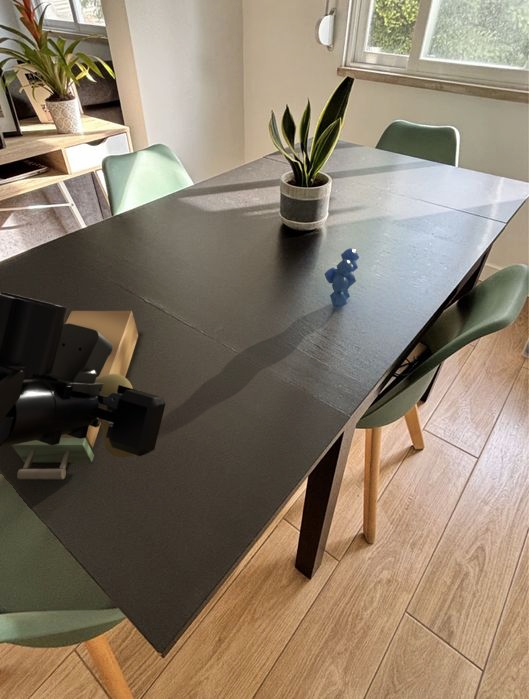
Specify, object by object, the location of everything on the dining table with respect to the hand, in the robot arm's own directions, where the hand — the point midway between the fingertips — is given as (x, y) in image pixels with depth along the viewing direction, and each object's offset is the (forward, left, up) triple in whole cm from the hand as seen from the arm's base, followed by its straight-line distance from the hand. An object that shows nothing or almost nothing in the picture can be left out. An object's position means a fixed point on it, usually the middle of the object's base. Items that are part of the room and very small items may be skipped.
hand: (122, 400), depth 55 cm
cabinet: (+7, +20, -13) cm, 25 cm away
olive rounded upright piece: (-1, 0, -7) cm, 7 cm away
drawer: (-3, +13, -13) cm, 18 cm away
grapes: (+51, -3, -14) cm, 53 cm away
